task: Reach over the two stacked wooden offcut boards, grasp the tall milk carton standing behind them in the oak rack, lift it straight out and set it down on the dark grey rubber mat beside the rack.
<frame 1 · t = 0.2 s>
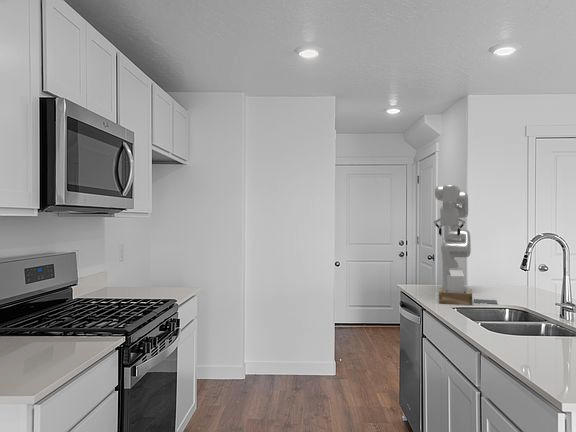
hand: (449, 235, 291), 36 cm above the worktop, tool pointing down, fingers open, 9 cm apart
offcut upper: (455, 295, 285), point 3 cm above the worktop, touching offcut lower
rack: (455, 301, 280), on the worktop
milk carton: (455, 302, 278), resting in rack
mat: (485, 302, 279), on the worktop
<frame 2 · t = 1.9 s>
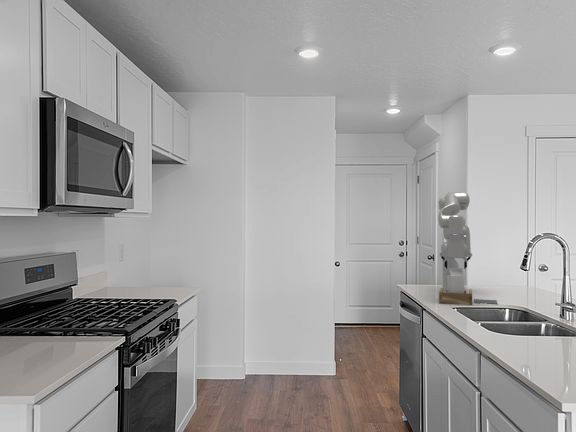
hand: (455, 268, 277), 19 cm above the worktop, tool pointing down, fingers open, 9 cm apart
nothing on the worktop moved.
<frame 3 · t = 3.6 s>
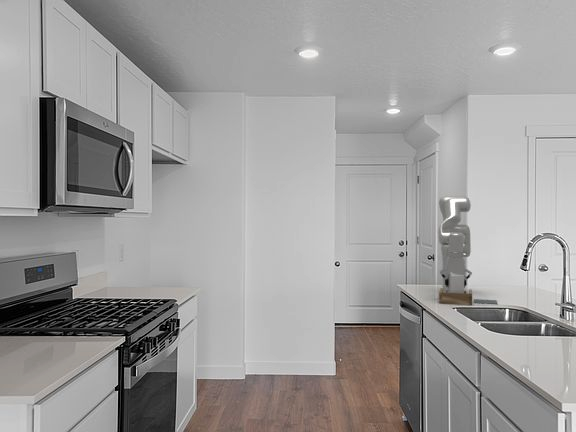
hand: (455, 286, 278), 9 cm above the worktop, tool pointing down, fingers closed on milk carton, 8 cm apart
milk carton: (455, 302, 278), resting in rack, touching gripper
everything else where it was.
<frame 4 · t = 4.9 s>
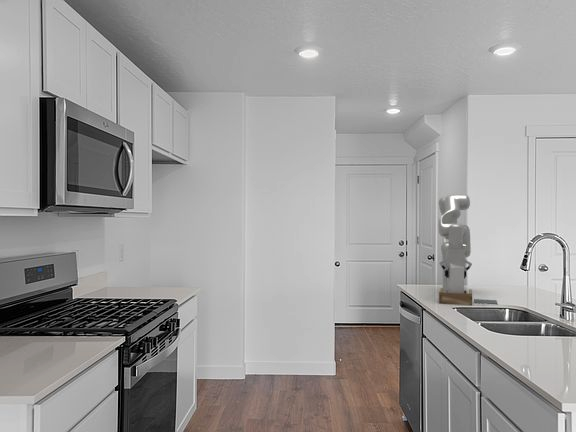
hand: (455, 277, 278), 13 cm above the worktop, tool pointing down, fingers closed on milk carton, 8 cm apart
milk carton: (455, 293, 279), point 5 cm above the worktop, touching gripper
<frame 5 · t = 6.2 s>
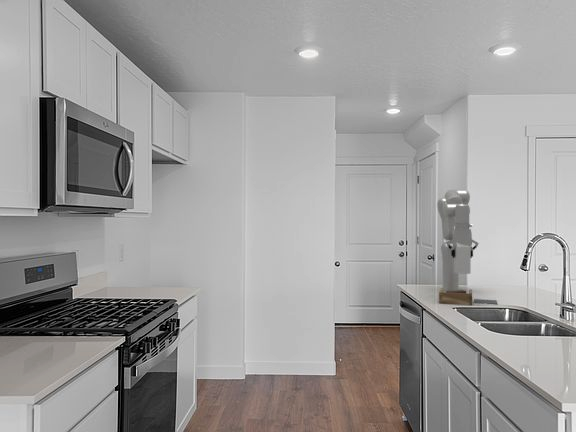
hand: (462, 257, 278), 25 cm above the worktop, tool pointing down, fingers closed on milk carton, 8 cm apart
milk carton: (462, 273, 278), point 16 cm above the worktop, touching gripper
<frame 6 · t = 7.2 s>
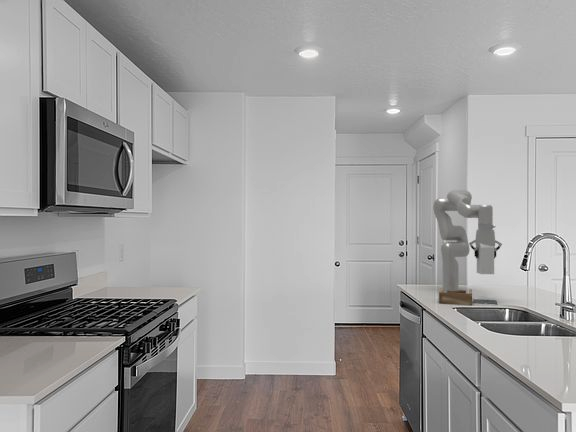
hand: (485, 258, 279), 24 cm above the worktop, tool pointing down, fingers closed on milk carton, 8 cm apart
offcut upper: (456, 295, 285), point 3 cm above the worktop
milk carton: (485, 274, 279), point 15 cm above the worktop, touching gripper
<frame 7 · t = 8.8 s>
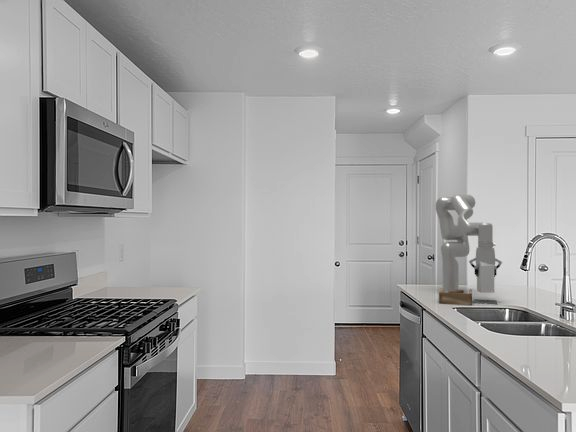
hand: (485, 276, 279), 14 cm above the worktop, tool pointing down, fingers closed on milk carton, 8 cm apart
offcut upper: (455, 295, 286), point 2 cm above the worktop, touching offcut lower
milk carton: (485, 292, 279), point 5 cm above the worktop, touching gripper
when the fingers open (10 cm above the worktop, at t = 10.7 s): milk carton drops 1 cm, resting on mat.
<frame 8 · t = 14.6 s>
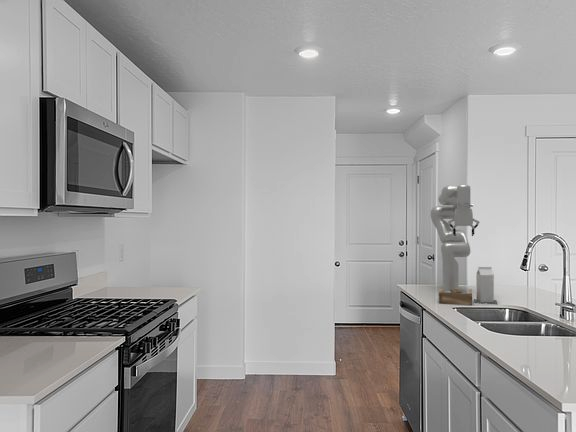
hand: (463, 235, 291), 36 cm above the worktop, tool pointing down, fingers open, 9 cm apart
offcut upper: (456, 295, 286), point 2 cm above the worktop
milk carton: (484, 301, 279), resting on mat
at the end: milk carton inside the target area on the mat (0.2 cm from its centre), point 0.2 cm above the mat's base; milk carton tilted 0°; the gripper is holding nothing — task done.
